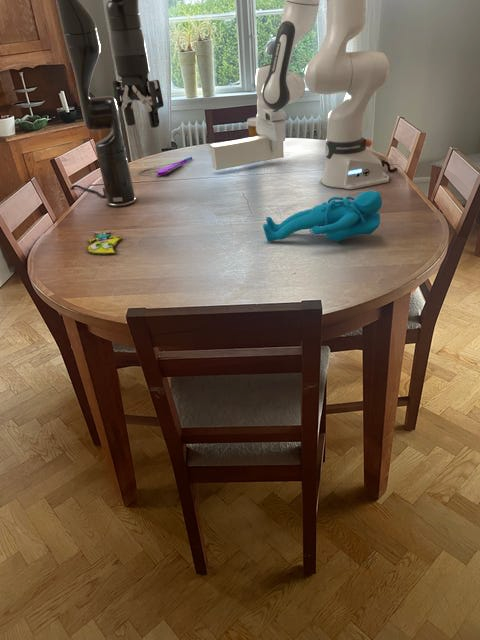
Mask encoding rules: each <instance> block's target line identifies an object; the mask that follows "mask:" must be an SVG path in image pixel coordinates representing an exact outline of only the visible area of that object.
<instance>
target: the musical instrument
mask: <svg viewBox="0 0 480 640" xmlns="http://www.w3.org/2000/svg"><path fill="white" fill-rule="evenodd" d="M192 160H193V156H189V157H186V158H183V159H182V160H180V161H176V162H173V163H168V164H164V165H161V167H163V168H161V169H158V170H157V171H152V172H144V171H147V170H151V169H155V168H158V167H160V165H157V166H153V167H149V168H146V169H141V170H139V171H138V173H139V174H142V175H143V174H145V175H148V174H154V173H156V174H157V176H158V177H159V176H165V175H168V173H170V172H172V171H173V170H175V169H177V168H179V167H180V166H183V165H184V164H185V163H186V162H188V161H192ZM164 166H165V167H164Z"/></svg>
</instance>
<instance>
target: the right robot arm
mask: <svg viewBox="0 0 480 640" xmlns="http://www.w3.org/2000/svg"><path fill="white" fill-rule="evenodd" d="M320 1H321V0H284V3H283V9H282V16H281V21H280V24H279V26H278V30H277V33H276V36H275V41H274V45H273V50H272V55H271V60H270V62H269V63H266V64H263V65H260V66H259V67H258V68H257V69H256V73H255V93H256V95H257V101H256V110H257V111H256V112H257V114H256V115H255V117H256V132H257V134H259V135H264V136H266V137H268V138H269V139H270V140H272V147H271V151H273V152H276V151H277V145H278V142H283V143H284V142H285V140H286V137H287V123H286V120H287V113H286V111H285V110H284V108H285V107H286V106H288V105H291V104H293V103H295V102H298V101H299V100H300V99H302V98H303V96H304V95H305V92H306V87H307V89H308V90H309V92H310V93H312V94H318V95H334V94H335V95H336V94H345V93H346V94H345V97H344V99H343V100H342V101H341V102H340V103H339V104H337V105H336V106H335V107H333V108H332V109H331V110H330V111H329V113H328V116H327V123H326V124H327V126H326V127H327V129H326V130H327V132H326V139H325V145H324V154H325V155H324V156H325V164H324V170H323V175H322V178H321V183H322V185H324V186H327V187H330V188H338V189H339V188H341V189H346V190H356V189H361V188H366V187H371V186H376V185H380V184H385V183H389V182H390V176H389V175H388V174H387V173H386V172H385V171H384V167H385V165H386V167H387V171H388V172H389V173H394V172H396V171H398V167H393V168H391V164H390V163H389V162H388V161H386V160H385V159H383V158H380V157H377V156H376V155H375V154H373V152H371V151H370V150H368V148H370V147H371V146H373V141H372V140H371V139H368V138H367V139H366V138H364V137H362V134H363V125H364V124H363V123H364V117H365V112H366V109H367V106H368V104H369V102H370V100H371V99H372V97H373V95H375V93H376V92H377V91H378V90H379V89H380V88H381V87H382V86H384V84H385V83H386V81H387V80H388V77H389V73H390V61H389V59H388V57H387V55H386V54H385V53H384V52H383V51H376V50H359V51H347V45H348V43H349V42H350V41H351V40H353V39H354V38H356V37H358V35H359V34H360V33H361V32H362V31H363V30H364V28H365V27H366V22H367V21H366V20H367V19H366V14H367V13H366V12H367V9H366V8H367V7H366V6H367V5H366V2H367V1H366V0H326V27H325V35H324V39H323V41H322V43H321V46H320V48H319V49H318V51H317V52H316V53H315V55H314V56H313V57H312V58H311V59H310V60H309V61H308V63H307V65H306V67H305V70H304V79H303V77H302V75H300V74H299V73H297V72H292V71H289V70H290V65H291V61H292V55H293V53H294V50H295V49H296V46H297V44H298V43H299V42H300V41H301V40H302V39H303V37H305V36H306V35H307V34H308V33H309V32H310V31H311V30H312V29H313V28H314V25H315V22H316V20H317V16H318V12H319V6H320Z"/></svg>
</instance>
